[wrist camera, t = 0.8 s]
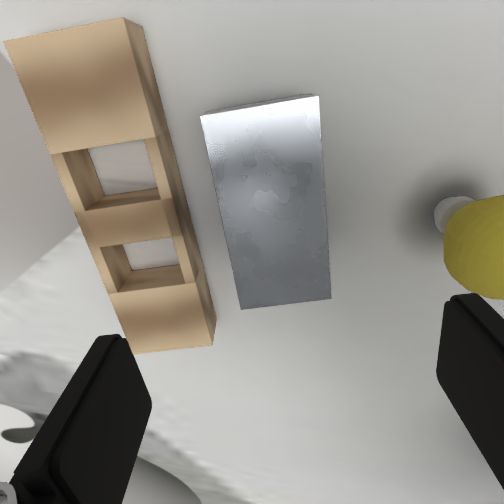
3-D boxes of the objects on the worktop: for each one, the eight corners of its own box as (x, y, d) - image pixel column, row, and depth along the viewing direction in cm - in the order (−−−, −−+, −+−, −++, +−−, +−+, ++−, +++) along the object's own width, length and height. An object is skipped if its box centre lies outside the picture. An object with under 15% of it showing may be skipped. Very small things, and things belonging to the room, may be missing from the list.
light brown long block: (216, 319, 33) (212, 345, 30) (144, 328, 33) (133, 354, 30) (142, 26, 22) (123, 17, 19) (38, 46, 23) (3, 41, 20)
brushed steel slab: (316, 255, 30) (331, 298, 24) (244, 265, 30) (241, 309, 24) (303, 92, 24) (318, 96, 18) (213, 107, 24) (200, 116, 18)
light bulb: (467, 254, 29) (559, 331, 20) (393, 239, 29) (455, 311, 20) (508, 178, 26) (638, 229, 17) (427, 161, 26) (518, 204, 17)
